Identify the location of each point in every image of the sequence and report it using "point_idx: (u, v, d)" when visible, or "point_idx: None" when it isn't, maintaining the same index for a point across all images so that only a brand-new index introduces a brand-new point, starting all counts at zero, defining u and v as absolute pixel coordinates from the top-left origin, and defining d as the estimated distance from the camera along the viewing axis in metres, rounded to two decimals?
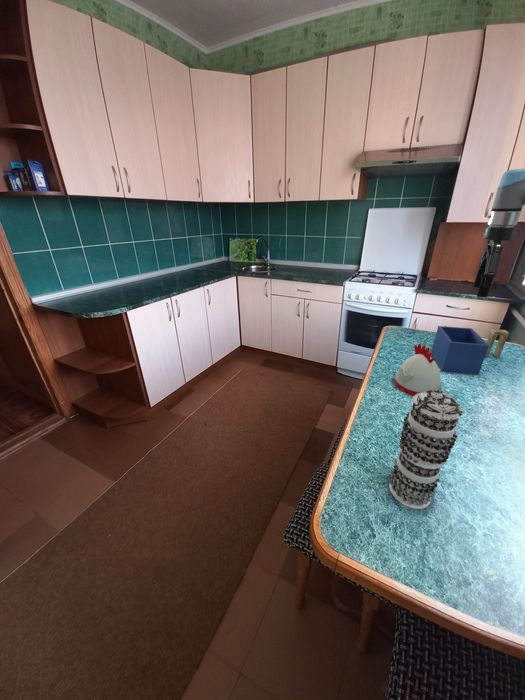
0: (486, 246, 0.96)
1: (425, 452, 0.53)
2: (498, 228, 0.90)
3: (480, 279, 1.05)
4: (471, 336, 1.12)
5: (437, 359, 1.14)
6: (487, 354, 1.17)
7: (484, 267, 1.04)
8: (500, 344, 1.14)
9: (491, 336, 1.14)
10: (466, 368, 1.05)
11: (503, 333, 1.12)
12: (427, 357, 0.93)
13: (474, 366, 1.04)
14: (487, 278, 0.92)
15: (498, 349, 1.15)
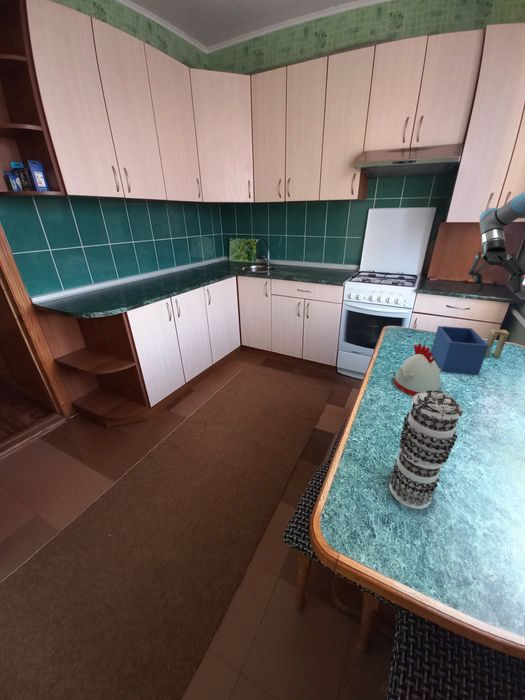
0: None
1: (425, 452, 0.53)
2: None
3: (515, 284, 1.15)
4: (471, 336, 1.12)
5: (437, 359, 1.14)
6: (487, 354, 1.17)
7: (516, 274, 1.16)
8: (500, 344, 1.14)
9: (491, 336, 1.14)
10: (466, 368, 1.05)
11: (503, 333, 1.12)
12: (427, 357, 0.93)
13: (474, 366, 1.04)
14: (473, 275, 1.18)
15: (498, 349, 1.15)
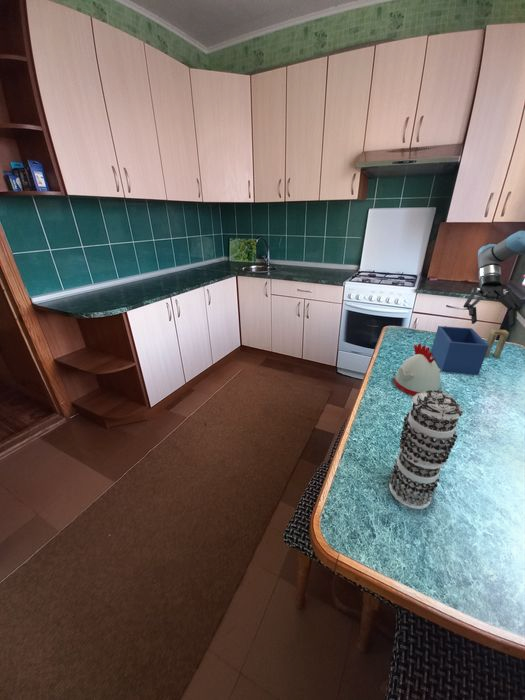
0: None
1: (425, 452, 0.53)
2: None
3: (510, 318, 1.18)
4: (471, 336, 1.12)
5: (437, 359, 1.14)
6: (487, 354, 1.17)
7: (512, 309, 1.19)
8: (500, 344, 1.14)
9: (491, 336, 1.14)
10: (466, 368, 1.05)
11: (503, 333, 1.12)
12: (427, 357, 0.93)
13: (474, 366, 1.04)
14: (468, 308, 1.23)
15: (498, 349, 1.15)
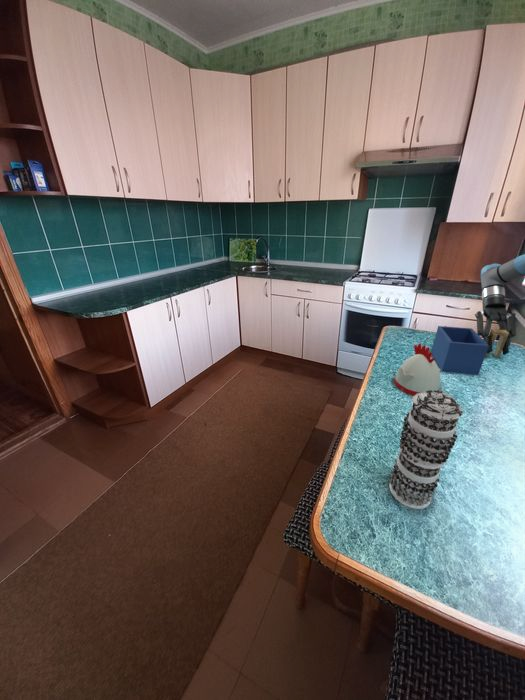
0: None
1: (425, 452, 0.53)
2: None
3: (504, 346, 1.13)
4: (471, 336, 1.12)
5: (437, 359, 1.14)
6: (487, 354, 1.17)
7: None
8: (500, 344, 1.14)
9: (491, 336, 1.14)
10: (466, 368, 1.05)
11: (503, 333, 1.12)
12: (427, 357, 0.93)
13: (474, 366, 1.04)
14: (483, 336, 1.16)
15: (498, 349, 1.15)
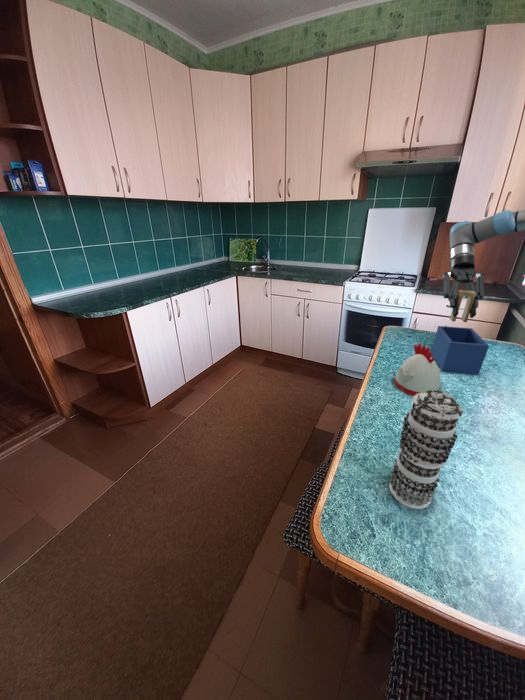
0: None
1: (425, 452, 0.53)
2: None
3: (471, 308, 1.03)
4: (471, 336, 1.12)
5: (437, 359, 1.14)
6: (454, 318, 1.07)
7: None
8: (467, 306, 1.04)
9: None
10: (466, 368, 1.05)
11: (470, 293, 1.02)
12: (427, 357, 0.93)
13: (474, 366, 1.04)
14: (449, 299, 1.06)
15: (465, 312, 1.05)
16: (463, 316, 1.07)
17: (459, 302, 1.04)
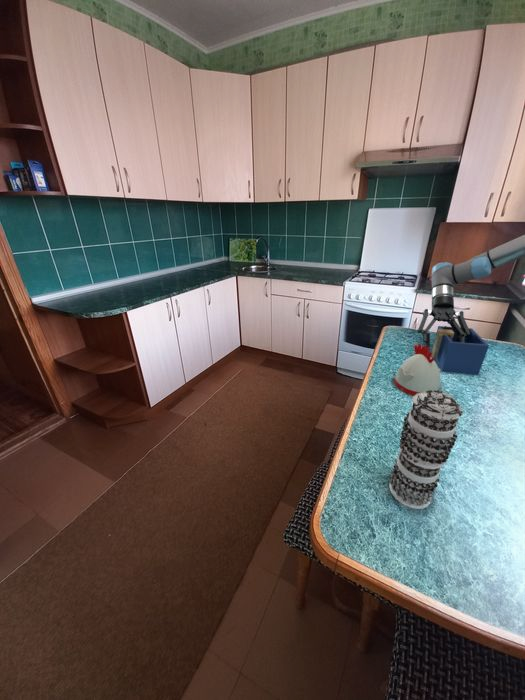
0: None
1: (425, 452, 0.53)
2: None
3: None
4: (471, 336, 1.12)
5: (437, 359, 1.14)
6: (434, 355, 1.13)
7: (460, 335, 1.10)
8: None
9: (437, 336, 1.10)
10: (466, 368, 1.05)
11: (448, 333, 1.08)
12: (427, 357, 0.93)
13: (474, 366, 1.04)
14: (422, 334, 1.13)
15: None
16: None
17: (439, 340, 1.10)
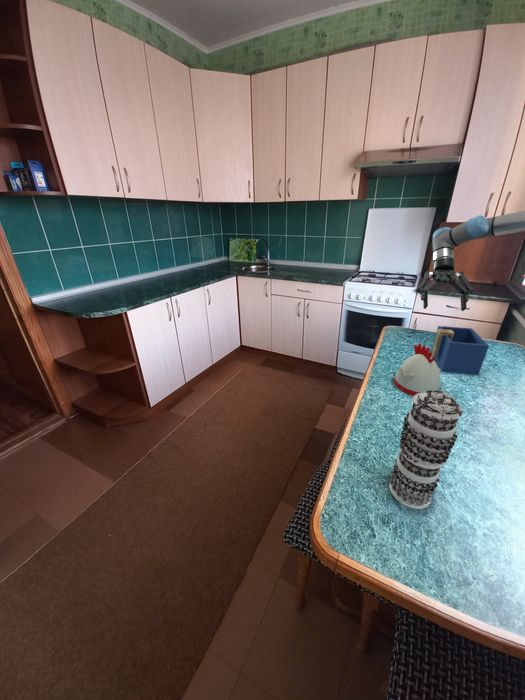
0: None
1: (425, 452, 0.53)
2: None
3: (462, 302, 1.14)
4: (471, 336, 1.12)
5: (437, 359, 1.14)
6: (434, 355, 1.13)
7: (464, 292, 1.15)
8: None
9: (437, 336, 1.10)
10: (466, 368, 1.05)
11: (448, 333, 1.08)
12: (427, 357, 0.93)
13: (474, 366, 1.04)
14: (420, 293, 1.19)
15: None
16: None
17: (439, 340, 1.10)
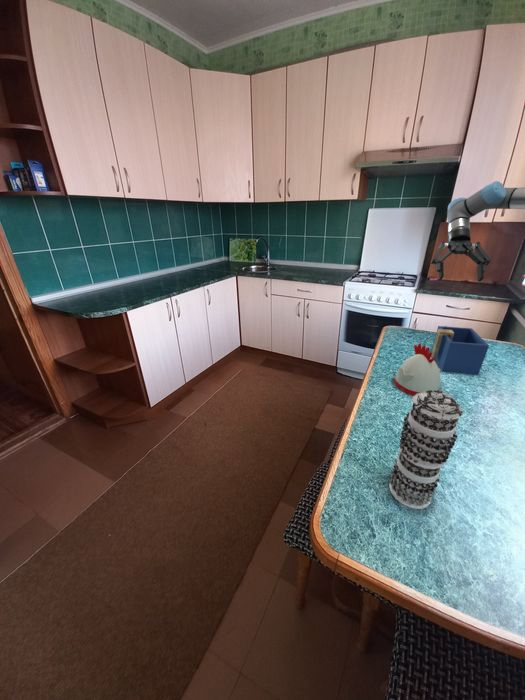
0: None
1: (425, 452, 0.53)
2: None
3: (479, 272, 1.11)
4: (471, 336, 1.12)
5: (437, 359, 1.14)
6: (434, 355, 1.13)
7: (481, 263, 1.12)
8: None
9: (437, 336, 1.10)
10: (466, 368, 1.05)
11: (448, 333, 1.08)
12: (427, 357, 0.93)
13: (474, 366, 1.04)
14: (436, 264, 1.16)
15: None
16: None
17: (439, 340, 1.10)
